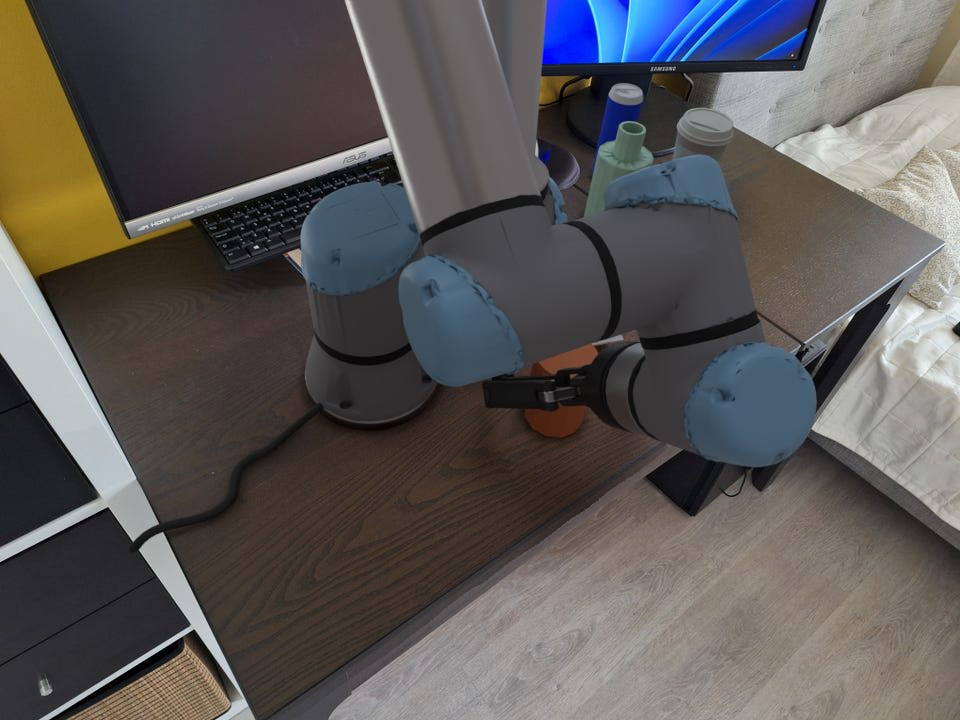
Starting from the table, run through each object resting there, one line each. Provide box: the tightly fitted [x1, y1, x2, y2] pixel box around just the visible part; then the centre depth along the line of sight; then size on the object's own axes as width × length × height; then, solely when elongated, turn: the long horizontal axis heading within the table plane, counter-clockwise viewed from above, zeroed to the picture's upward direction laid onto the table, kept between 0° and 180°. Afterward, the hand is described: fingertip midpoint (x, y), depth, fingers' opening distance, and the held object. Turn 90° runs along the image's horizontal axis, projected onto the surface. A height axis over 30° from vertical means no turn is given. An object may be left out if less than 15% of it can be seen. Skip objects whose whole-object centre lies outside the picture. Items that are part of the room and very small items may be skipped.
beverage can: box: [591, 82, 644, 176], centre depth 105 cm, size 5×5×15 cm
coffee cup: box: [671, 107, 735, 163], centre depth 106 cm, size 8×8×12 cm
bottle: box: [583, 121, 655, 217], centre depth 96 cm, size 8×8×16 cm
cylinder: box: [524, 343, 599, 439], centre depth 73 cm, size 7×7×10 cm
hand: (553, 372), depth 74 cm, fingers open, 13 cm apart
